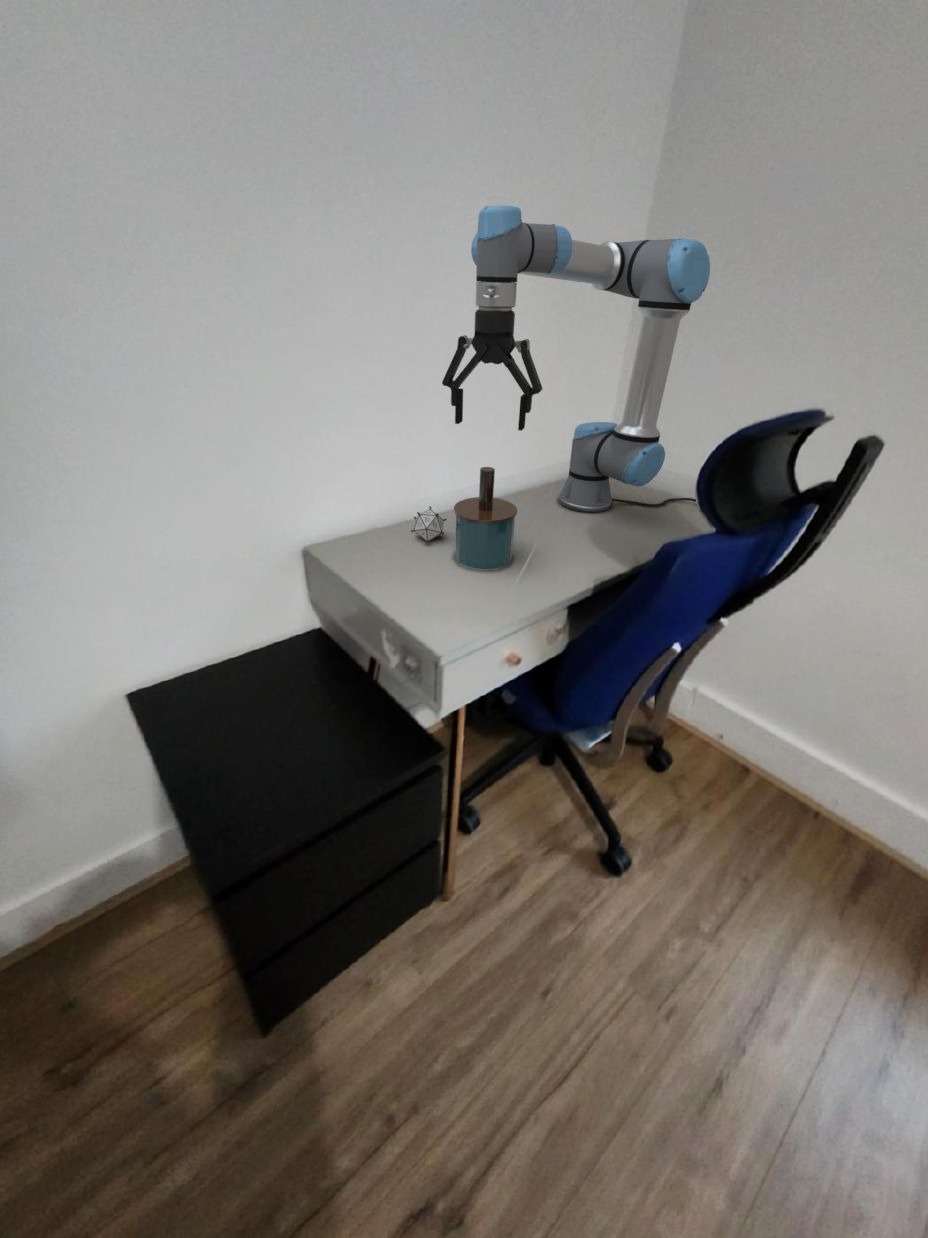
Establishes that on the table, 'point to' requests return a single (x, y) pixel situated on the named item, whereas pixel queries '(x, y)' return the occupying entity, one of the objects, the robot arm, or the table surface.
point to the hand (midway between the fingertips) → (489, 425)
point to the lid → (485, 503)
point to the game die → (428, 525)
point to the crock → (484, 543)
